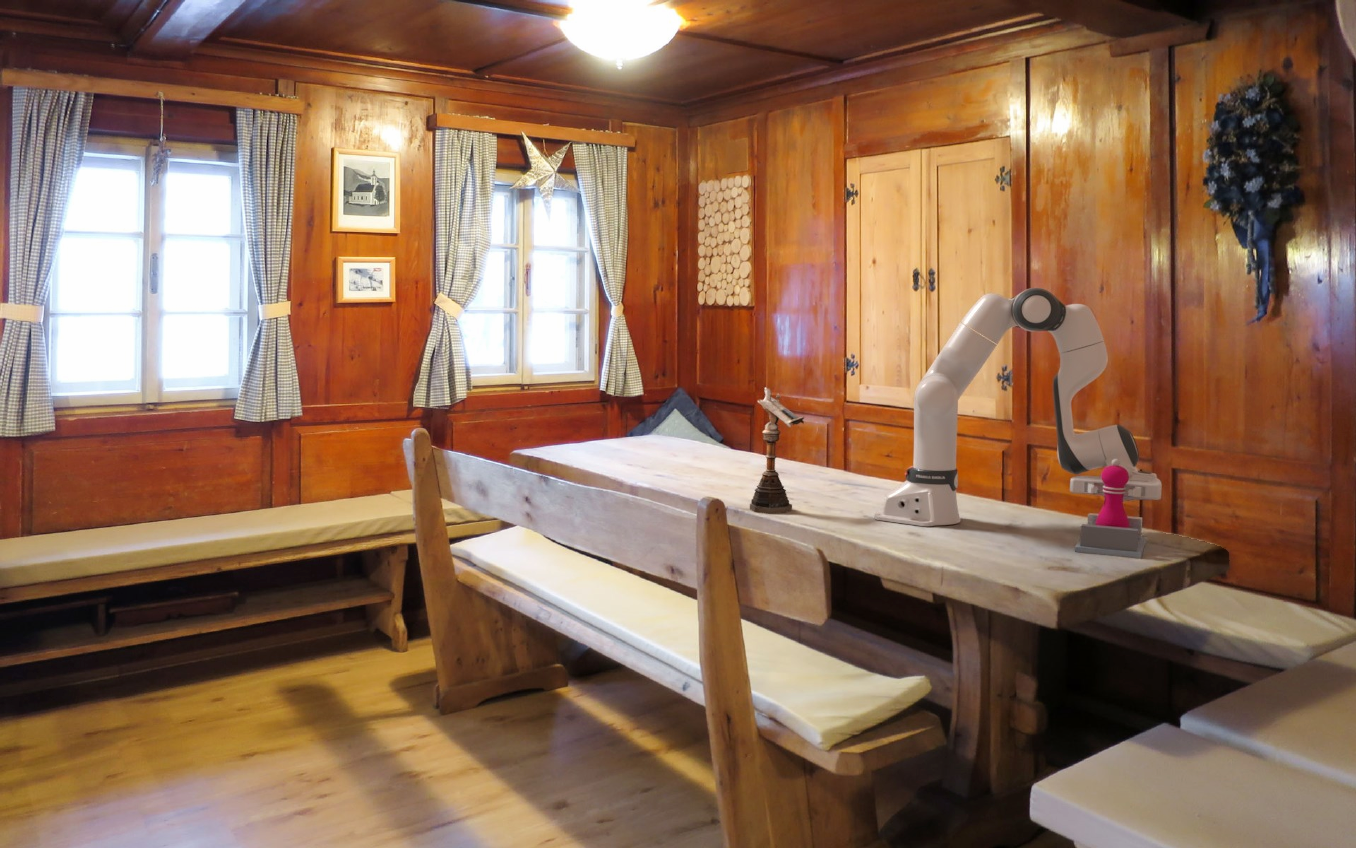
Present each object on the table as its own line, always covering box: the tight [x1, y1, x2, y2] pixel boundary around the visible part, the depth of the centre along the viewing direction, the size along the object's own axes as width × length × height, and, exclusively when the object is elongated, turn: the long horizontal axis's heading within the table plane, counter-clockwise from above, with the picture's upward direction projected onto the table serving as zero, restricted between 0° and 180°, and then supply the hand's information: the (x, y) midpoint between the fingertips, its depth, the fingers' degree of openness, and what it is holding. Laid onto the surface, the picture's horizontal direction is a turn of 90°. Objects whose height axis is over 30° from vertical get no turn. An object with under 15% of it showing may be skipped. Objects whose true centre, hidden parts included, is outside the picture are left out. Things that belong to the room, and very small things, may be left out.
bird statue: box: [749, 387, 805, 515], centre depth 285 cm, size 17×13×35 cm
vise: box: [1074, 523, 1147, 559], centre depth 241 cm, size 14×20×6 cm
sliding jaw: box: [1087, 512, 1143, 539], centre depth 247 cm, size 12×2×5 cm, turn 63°
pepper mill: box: [1096, 459, 1129, 528], centre depth 239 cm, size 7×7×20 cm
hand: (1112, 492), depth 238 cm, fingers open, 7 cm apart
